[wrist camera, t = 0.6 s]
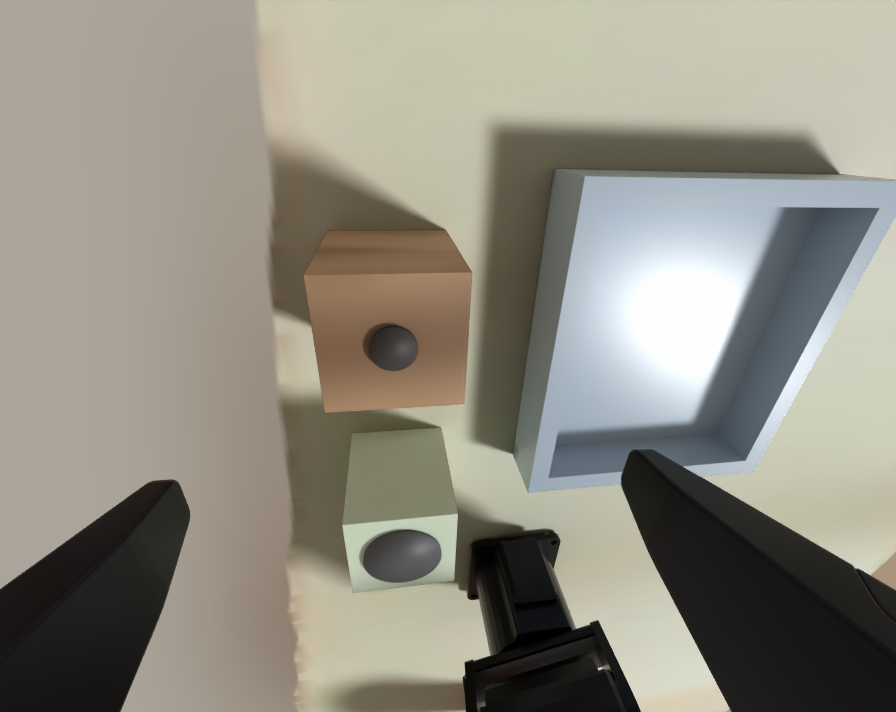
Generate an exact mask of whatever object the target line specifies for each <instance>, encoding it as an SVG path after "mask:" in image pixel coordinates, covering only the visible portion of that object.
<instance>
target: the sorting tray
mask: <svg viewBox="0 0 896 712" xmlns="http://www.w3.org/2000/svg"><path fill="white" fill-rule="evenodd" d="M895 216H896V180H893V179H883V178H873V177H863V176H853V175H843V174H800V173H747V172H693V171H640V170H586V169H554V173H553V180H552V187H551V194H550V201H549V208H548V215H547V222H546V229H545V236H544V243H543V250H542V257H541V264H540V271H539V278H538V285H537V292H536V299H535V306H534V313H533V320H532V326H531V333H530V340H529V347H528V354H527V361H526V368H525V375H524V382H523V389H522V396H521V403H520V410H519V417H518V424H517V431H516V438H515V445H514V452H513V456H514V458H515V461H516V463H517V466H518V468H519V471H520V473H521V476H522V478H523V481H524V483H525V486H526V489H527V491H528V493H532V492H543V491H554V490H565V489H575V488H586V487H597V486H608V485H618V484H621V475H622V472H623V469H624V466H625V463H626V460H627V457H628V455H629V452H630V451H631V450H633V449H642V448H651V449H653V450H655V451H657V452H659V453H660V454H662V455H664V456H666V457H667V458H669V459H671V460H672V461H674V462H676V463H678V464H679V465H681V466H683V467H684V468H686V469H688V470H690V471H691V472H693V473H695V474H697V475H698V476H700V477H704V476H715V475H726V474H736V473H747V472H754V470H755V469H756V467H757V465H758V463H759V461H760V460H761V458H762V456H763V454H764V452H765V451H766V449H767V447H768V445H769V443H770V442H771V440H772V438H773V436H774V434H775V433H776V431H777V429H778V427H779V425H780V424H781V422H782V420H783V418H784V416H785V415H786V413H787V411H788V409H789V407H790V406H791V404H792V402H793V400H794V398H795V397H796V395H797V393H798V391H799V389H800V388H801V386H802V384H803V382H804V380H805V379H806V377H807V375H808V373H809V371H810V370H811V368H812V366H813V364H814V362H815V361H816V359H817V357H818V355H819V353H820V352H821V350H822V348H823V346H824V344H825V343H826V341H827V339H828V337H829V335H830V334H831V332H832V330H833V328H834V326H835V325H836V323H837V321H838V319H839V317H840V316H841V314H842V312H843V310H844V308H845V307H846V305H847V303H848V301H849V299H850V297H851V296H852V294H853V292H854V290H855V288H856V287H857V285H858V283H859V281H860V279H861V278H862V276H863V274H864V272H865V270H866V269H867V267H868V265H869V263H870V261H871V260H872V258H873V256H874V254H875V252H876V251H877V249H878V247H879V245H880V243H881V242H882V240H883V238H884V236H885V234H886V233H887V231H888V229H889V227H890V225H891V224H892V222H893V220H894V218H895Z"/></svg>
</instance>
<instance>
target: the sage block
mask: <svg viewBox="0 0 896 712" xmlns="http://www.w3.org/2000/svg"><path fill="white" fill-rule="evenodd" d="M457 521H458V512H457V507H456V501H455V496H454V491H453V486H452V481H451V475H450V470H449V465H448V460H447V454H446V449H445V444H444V439H443V434H442V428H441V427H439V428H425V429H410V430H396V431H381V432H366V433H352V437H351V447H350V456H349V466H348V475H347V485H346V494H345V504H344V513H343V523H342V527H343V533H344V540H345V546H346V553H347V559H348V565H349V572H350V578H351V585H352V591H353V593H357V592H366V591H374V590H382V589H391V588H399V587H407V586H415V585H424V584H432V583H440V582H448V581H454V572H455V555H456V538H457Z"/></svg>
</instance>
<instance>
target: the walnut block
mask: <svg viewBox="0 0 896 712" xmlns="http://www.w3.org/2000/svg"><path fill="white" fill-rule="evenodd" d="M304 281H305V287H306V294H307V300H308V307H309V313H310V320H311V326H312V332H313V339H314V345H315V352H316V358H317V365H318V371H319V378H320V384H321V390H322V397H323V403H324V410H325V413H330V412H346V411H362V410H378V409H394V408H410V407H426V406H442V405H458V404H465V387H466V370H467V353H468V335H469V318H470V301H471V284H472V271H471V270H470V268H469V267H468V265H467V263H466V262H465V260H464V258H463V257H462V255H461V253H460V252H459V250H458V249H457V247H456V245H455V244H454V242H453V240H452V239H451V237H450V236H449V234H448V232H447V231H446V230H328V231H327V233H326V235H325V237H324V239H323V240H322V242H321V244H320V246H319V248H318V250H317V252H316V253H315V255H314V257H313V259H312V261H311V263H310V265H309V266H308V268H307V270H306V272H305V274H304Z"/></svg>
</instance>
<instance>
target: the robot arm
mask: <svg viewBox="0 0 896 712" xmlns="http://www.w3.org/2000/svg"><path fill="white" fill-rule="evenodd" d="M621 486H622V489H623V492H624V494H625V496H626V499H627V501H628V504H629V506H630V509H631V511H632V514H633V516H634V518H635V521H636V523H637V526H638V528H639V531H640V533H641V536H642V538H643V541H644V543H645V545H646V548H647V550H648V552H649V554H650V556H651V559H652V561H653V563H654V565H655V567H656V569H657V570H658V572H659V574H660V576H661V578H662V580H663V582H664V584H665V586H666V588H667V590H668V591H669V593H670V595H671V597H672V599H673V601H674V603H675V605H676V607H677V609H678V610H679V612H680V614H681V616H682V618H683V620H684V622H685V624H686V626H687V628H688V630H689V631H690V633H691V635H692V637H693V639H694V641H695V643H696V645H697V647H698V649H699V651H700V652H701V654H702V656H703V658H704V660H705V662H706V664H707V666H708V668H709V670H710V672H711V673H712V675H713V677H714V679H715V681H716V683H717V685H718V687H719V689H720V691H721V693H722V694H723V696H724V698H725V700H726V702H727V704H728V706H729V708H730V710H731V711H732V712H896V590H894V589H893V588H891V587H889V586H888V585H886V584H884V583H882V582H881V581H879V580H877V579H875V578H874V577H872V576H870V575H869V574H867V573H865V572H864V571H862V570H860V569H855V568H854V566H853V565H851V564H850V563H848V562H846V561H845V560H843V559H841V558H839V557H838V556H836V555H834V554H832V553H831V552H829V551H827V550H826V549H824V548H822V547H820V546H819V545H817V544H815V543H814V542H812V541H810V540H808V539H807V538H805V537H803V536H802V535H800V534H798V533H796V532H795V531H793V530H791V529H789V528H788V527H786V526H784V525H783V524H781V523H779V522H777V521H776V520H774V519H772V518H771V517H769V516H767V515H765V514H764V513H762V512H760V511H758V510H757V509H755V508H753V507H752V506H750V505H748V504H746V503H745V502H743V501H741V500H740V499H738V498H736V497H734V496H733V495H731V494H729V493H728V492H726V491H724V490H722V489H721V488H719V487H717V486H715V485H714V484H712V483H710V482H709V481H707V480H705V479H703V478H702V477H700V476H698V475H697V474H695V473H693V472H691V471H690V470H688V469H686V468H684V467H683V466H681V465H679V464H678V463H676V462H674V461H672V460H671V459H669V458H667V457H666V456H664V455H662V454H660V453H659V452H657V451H655V450H653V449H651V448H642V449H633V450H631V451H630V452H629V455H628V457H627V460H626V463H625V466H624V469H623V472H622V475H621ZM189 521H190V510H189V507H188V504H187V502H186V499H185V497H184V494H183V491H182V489H181V486H180V484H179V483H178V482H177V481H176V480H158V481H152V482H149V483H147V484H146V485H144V486H143V487H141V488H140V489H139V490H137V491H136V492H134V493H133V494H132V495H130V496H129V497H127V498H126V499H125V500H123V501H122V502H120V503H119V504H118V505H116V506H115V507H113V508H112V509H111V510H109V511H108V512H107V513H105V514H104V515H103V516H101V517H100V518H98V519H97V520H96V521H94V522H93V523H91V524H90V525H89V526H87V527H86V528H84V529H83V530H82V531H80V532H79V533H77V534H76V535H75V536H73V537H72V538H71V539H69V540H68V541H66V542H65V543H63V544H62V545H61V546H59V547H58V548H56V549H55V550H54V551H52V552H51V553H50V554H48V555H47V556H45V557H44V558H43V559H41V560H40V561H38V562H37V563H36V564H34V565H33V566H31V567H30V568H29V569H27V570H26V571H25V572H23V573H22V574H21V575H19V576H18V577H16V578H15V579H13V580H12V581H11V582H9V583H8V584H6V585H5V586H4V587H2V588H1V589H0V712H120V711H121V709H122V707H123V704H124V702H125V699H126V697H127V695H128V692H129V690H130V687H131V685H132V682H133V680H134V678H135V675H136V673H137V670H138V668H139V666H140V663H141V661H142V658H143V656H144V654H145V651H146V649H147V646H148V644H149V642H150V639H151V637H152V634H153V632H154V630H155V627H156V625H157V622H158V620H159V617H160V614H161V612H162V609H163V607H164V603H165V601H166V598H167V595H168V591H169V588H170V585H171V581H172V578H173V575H174V571H175V568H176V565H177V561H178V558H179V555H180V551H181V548H182V545H183V541H184V538H185V535H186V531H187V528H188V525H189ZM559 545H560V538H559V536H558V534H556V533H550V534H541V535H531V536H522V537H513V538H504V539H494V540H485V541H477V542H474V543H472V544H471V547H470V558H469V570H468V581H467V597H468V599H470V600H476V599H479V601H480V606H481V611H482V616H483V621H484V626H485V631H486V636H487V641H488V646H489V651H490V656H488V657H485V658H482V659H479V660H475V661H474V660H470V661H466V662H465V676H464V677H463V685H464V692H465V703H466V712H641V711H640V708H639V706H638V704H637V702H636V699H635V697H634V695H633V693H632V690H631V688H630V686H629V684H628V682H627V680H626V678H625V676H624V674H623V671H622V669H621V667H620V665H619V663H618V661H617V659H616V657H615V655H614V653H613V650H612V648H611V646H610V644H609V642H608V640H607V638H606V636H605V634H604V632H603V630H602V627H601V625H600V623H599V621H598V620H597V621H594V622H591V623H590V625H587V626H584V627H581V628H578V629H576V627H575V625H574V622H573V619H572V617H571V614H570V611H569V609H568V606H567V604H566V601H565V598H564V596H563V593H562V591H561V588H560V585H559V583H558V580H557V578H556V575H555V572H554V570H553V568H554V565H555V561H556V557H557V553H558V549H559ZM599 667H602V668H603V669H602V670H599V671H598V669H597V668H599Z"/></svg>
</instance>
